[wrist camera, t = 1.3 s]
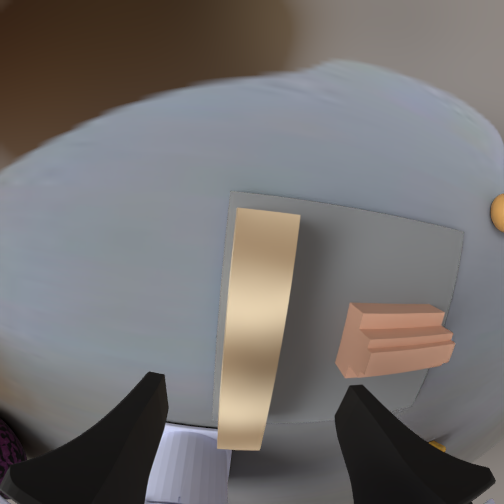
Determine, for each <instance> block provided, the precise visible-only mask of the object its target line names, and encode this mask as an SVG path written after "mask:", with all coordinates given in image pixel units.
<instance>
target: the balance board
mask: <svg viewBox="0 0 504 504" xmlns="http://www.w3.org/2000/svg"><path fill="white" fill-rule="evenodd" d="M237 208H246V209H255V210H264V211H272V212H281V213H289V214H296V215H301V216H300V224H299V232H298V240H297V248H296V255H295V262H294V269H293V276H292V283H291V290H290V296H289V303H288V309H287V315H286V321H285V327H284V333H283V339H282V345H281V350H280V356H279V361H278V367H277V372H276V377H275V382H274V387H273V392H272V397H271V402H270V407H269V412H268V416H267V421H266V424H285V423H307V422H320V421H331V420H335V417H334V416H335V414H336V412H337V410H338V408H339V406H340V404H341V402H342V400H343V398H344V396H345V394H346V392H347V389H348V387H349V385H364V386H365V387H366V388H367V389H368V390H369V391H370V392H371V393H372V394H373V395H374V396H375V397H376V398H377V399H378V400H379V401H380V402H381V403H382V404H383V405H384V406H385V407H386V408H387V409H388V410H389V411H394V410H398V409H403V408H407V407H411V406H412V405H413V403H414V401H415V399H416V397H417V395H418V393H419V390H420V388H421V386H422V384H423V381H424V379H425V377H426V374H427V372H428V370H429V368H431V367H436V366H441V365H442V363H447V362H449V359H450V357H451V354H452V352H453V349H454V346H455V343H454V342H453V341H451V338H452V335H453V333H452V332H451V331H449V330H448V329H446V328H444V325H445V321H446V318H447V314H448V311H449V307H450V303H451V300H452V296H453V291H454V287H455V283H456V278H457V273H458V268H459V263H460V257H461V251H462V244H463V237H464V232H462V231H458V230H454V229H450V228H446V227H442V226H438V225H434V224H429V223H425V222H421V221H416V220H412V219H407V218H402V217H398V216H393V215H388V214H383V213H378V212H372V211H367V210H362V209H356V208H350V207H345V206H339V205H333V204H326V203H320V202H314V201H307V200H300V199H293V198H286V197H278V196H270V195H262V194H254V193H245V192H235V191H230V199H229V208H228V218H227V227H226V237H225V247H224V257H223V268H222V279H221V291H220V302H219V315H218V328H217V342H216V356H215V372H214V389H213V408H212V421H215V422H218V413H219V398H220V384H221V371H222V358H223V346H224V334H225V322H226V311H227V300H228V289H229V278H230V268H231V258H232V248H233V238H234V229H235V220H236V210H237Z"/></svg>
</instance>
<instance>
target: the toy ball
mask: <svg viewBox="0 0 504 504" xmlns="http://www.w3.org/2000/svg"><path fill="white" fill-rule="evenodd" d="M23 461H27V457H26V454H25V451H24V449H23V447H22V445H21V443H20V441H19V440H18V438H17V436H16V435H15V434H14V432H13V431H12V430H11V429H10V427H9V426H8V425H7V424H6V423H5V422H4V421H3V420H1V419H0V485H1V482H2V480H3V478H4V476H5V474H6V472H7V470H8V469H9V467H10V466H11V465H12V464H16V463H20V462H23ZM0 496H1V497H3V498H4V499H11V498H9V497H8V496H7V495H5V494H4V493H3V492H1V491H0Z"/></svg>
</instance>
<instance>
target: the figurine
mask: <svg viewBox="0 0 504 504" xmlns="http://www.w3.org/2000/svg"><path fill="white" fill-rule="evenodd" d="M491 218H492V221H493V224H494V225H495V227H496V228H497V229H498V230H500V231H501V232H504V194H501V195H499V196H497V197H496V198H495V199H494V201H493V203H492V205H491Z"/></svg>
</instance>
